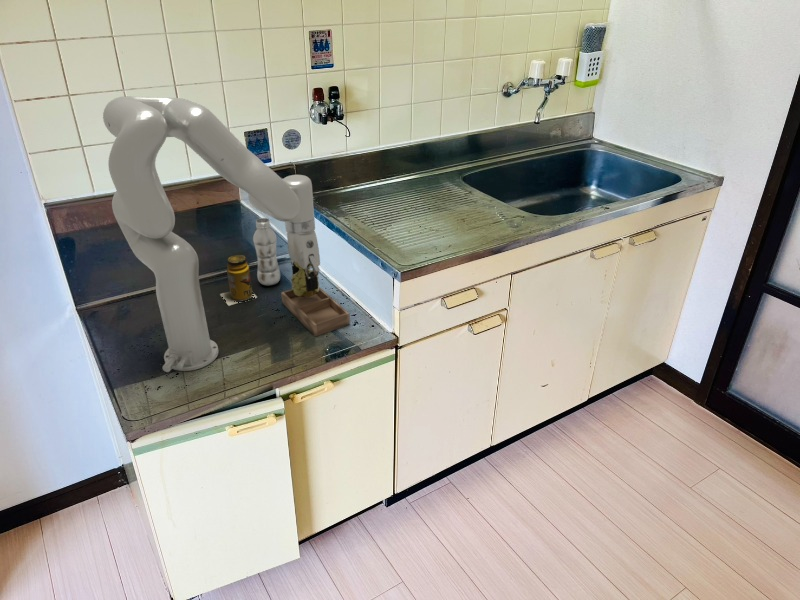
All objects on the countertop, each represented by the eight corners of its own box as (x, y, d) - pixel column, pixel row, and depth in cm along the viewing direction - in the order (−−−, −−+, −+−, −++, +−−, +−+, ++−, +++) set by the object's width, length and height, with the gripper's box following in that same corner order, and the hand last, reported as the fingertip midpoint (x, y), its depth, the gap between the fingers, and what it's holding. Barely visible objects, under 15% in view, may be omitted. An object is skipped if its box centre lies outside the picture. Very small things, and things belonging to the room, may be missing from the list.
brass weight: (319, 283, 168) (316, 251, 163) (320, 296, 162) (317, 263, 157) (292, 285, 167) (289, 253, 162) (292, 298, 161) (289, 265, 156)
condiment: (257, 298, 171) (252, 260, 164) (228, 306, 167) (222, 268, 160) (248, 287, 176) (243, 250, 170) (219, 295, 172) (213, 257, 166)
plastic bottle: (260, 277, 181) (252, 216, 170) (282, 277, 181) (276, 215, 170) (256, 288, 175) (248, 225, 165) (279, 288, 175) (273, 225, 165)
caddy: (349, 324, 159) (349, 313, 157) (315, 336, 154) (314, 325, 152) (314, 293, 173) (314, 282, 171) (282, 303, 168) (281, 292, 166)
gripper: (329, 232, 150) (333, 293, 159) (298, 209, 162) (303, 267, 171) (302, 239, 146) (307, 301, 155) (272, 215, 158) (279, 274, 168)
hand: (305, 283), depth 163 cm, fingers closed on brass weight, 7 cm apart
